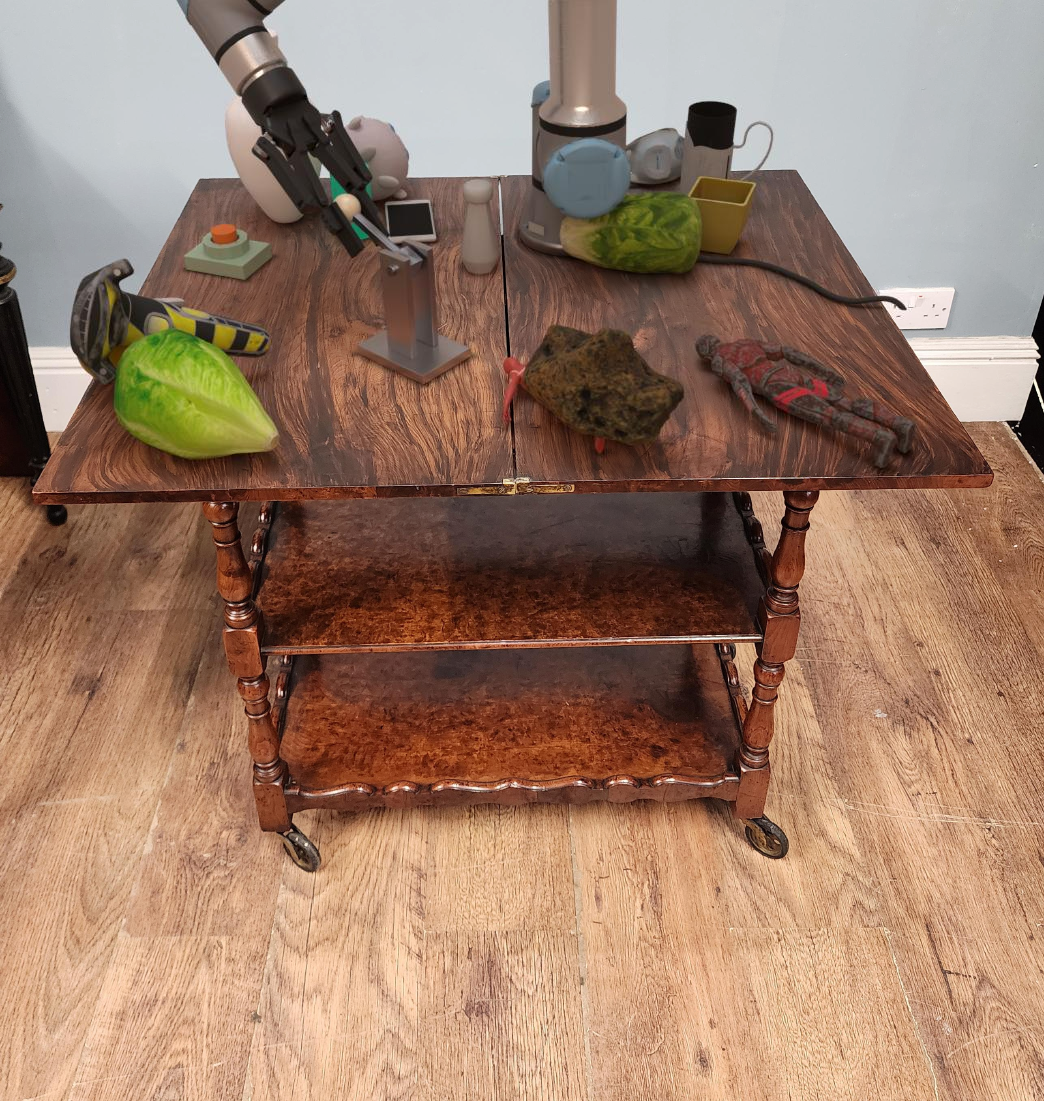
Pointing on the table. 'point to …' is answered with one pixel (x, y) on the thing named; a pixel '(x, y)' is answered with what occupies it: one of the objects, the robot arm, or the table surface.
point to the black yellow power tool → (144, 322)
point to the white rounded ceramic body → (656, 157)
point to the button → (224, 234)
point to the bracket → (411, 320)
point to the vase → (258, 162)
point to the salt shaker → (479, 229)
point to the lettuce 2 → (639, 234)
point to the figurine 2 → (802, 392)
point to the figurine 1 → (515, 377)
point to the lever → (375, 230)
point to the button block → (228, 256)
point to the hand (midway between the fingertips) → (370, 246)
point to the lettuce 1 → (189, 399)
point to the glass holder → (711, 143)
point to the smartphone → (410, 221)
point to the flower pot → (722, 211)
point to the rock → (601, 385)
